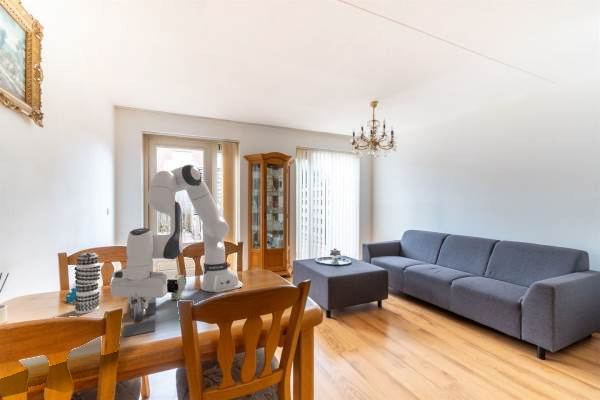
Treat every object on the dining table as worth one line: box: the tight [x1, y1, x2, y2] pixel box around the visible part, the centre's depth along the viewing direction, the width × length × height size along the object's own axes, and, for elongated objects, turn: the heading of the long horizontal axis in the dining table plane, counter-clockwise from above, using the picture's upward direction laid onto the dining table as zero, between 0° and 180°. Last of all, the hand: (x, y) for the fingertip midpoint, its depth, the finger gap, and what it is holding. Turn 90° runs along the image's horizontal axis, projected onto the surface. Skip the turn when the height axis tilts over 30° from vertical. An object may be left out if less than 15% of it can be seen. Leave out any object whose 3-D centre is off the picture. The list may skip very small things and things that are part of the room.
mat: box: [122, 319, 156, 338], centre depth 104 cm, size 10×10×1 cm
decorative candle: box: [73, 251, 101, 314], centre depth 121 cm, size 9×9×25 cm
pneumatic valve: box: [167, 274, 187, 301], centre depth 135 cm, size 6×12×12 cm, turn 178°
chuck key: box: [131, 293, 144, 323], centre depth 103 cm, size 7×3×11 cm, turn 174°
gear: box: [65, 285, 77, 303], centre depth 133 cm, size 11×6×10 cm
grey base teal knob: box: [130, 298, 157, 319], centre depth 123 cm, size 9×29×7 cm, turn 29°
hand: (139, 308), depth 104 cm, fingers closed on chuck key, 3 cm apart
